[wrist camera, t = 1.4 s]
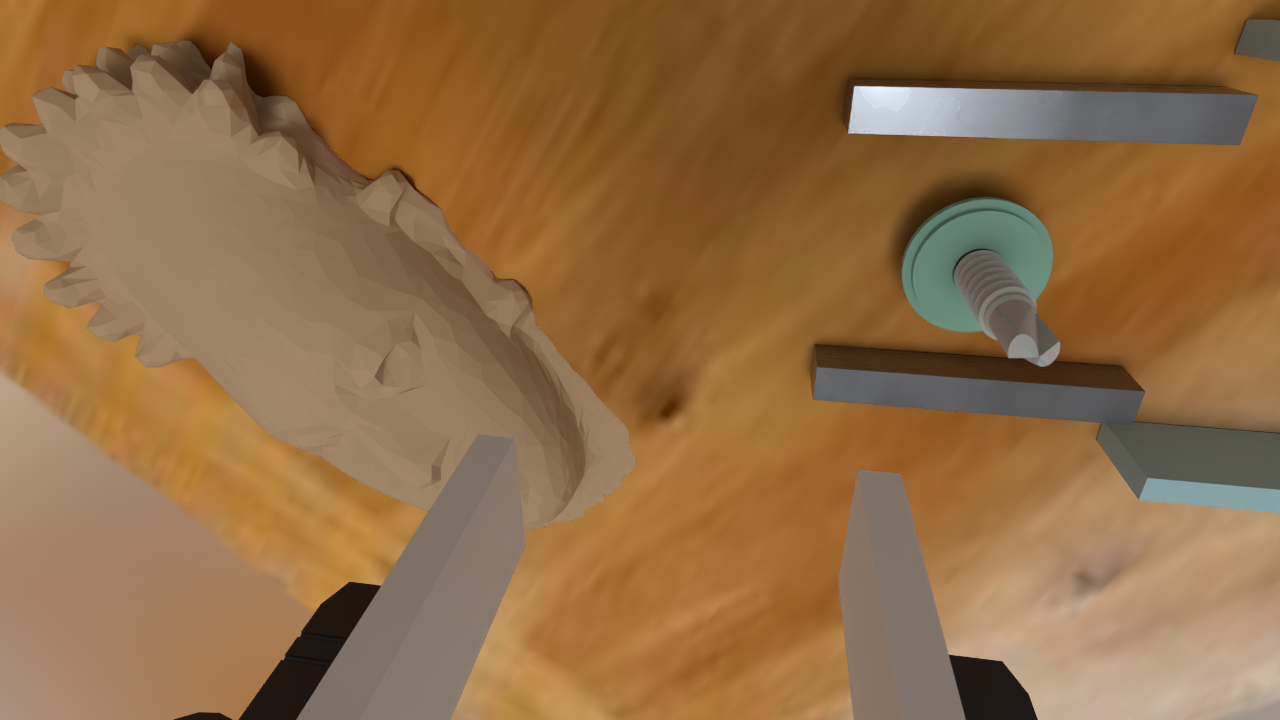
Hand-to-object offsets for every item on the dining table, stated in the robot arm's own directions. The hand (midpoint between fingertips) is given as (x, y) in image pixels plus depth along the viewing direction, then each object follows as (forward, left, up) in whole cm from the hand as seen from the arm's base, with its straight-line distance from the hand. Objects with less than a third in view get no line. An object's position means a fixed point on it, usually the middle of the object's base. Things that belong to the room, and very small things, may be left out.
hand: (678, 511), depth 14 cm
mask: (+5, -16, -18) cm, 24 cm away
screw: (0, +9, -17) cm, 19 cm away
